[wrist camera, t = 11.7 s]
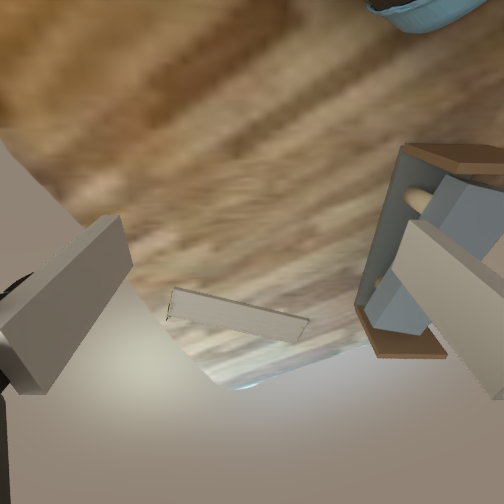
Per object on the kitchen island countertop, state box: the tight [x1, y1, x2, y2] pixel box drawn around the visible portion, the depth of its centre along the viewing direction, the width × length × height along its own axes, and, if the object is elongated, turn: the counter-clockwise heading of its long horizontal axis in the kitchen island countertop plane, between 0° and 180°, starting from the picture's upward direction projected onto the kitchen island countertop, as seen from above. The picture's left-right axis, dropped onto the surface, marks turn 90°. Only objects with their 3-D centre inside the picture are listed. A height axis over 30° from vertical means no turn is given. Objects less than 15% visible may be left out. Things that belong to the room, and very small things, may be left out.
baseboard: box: [166, 287, 308, 343], centre depth 59 cm, size 30×3×10 cm
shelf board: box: [364, 174, 504, 336], centre depth 41 cm, size 9×26×4 cm, turn 168°
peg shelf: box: [354, 143, 504, 359], centre depth 43 cm, size 12×33×13 cm, turn 179°
